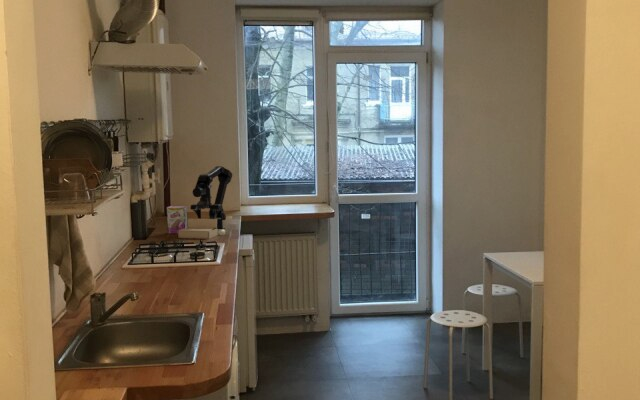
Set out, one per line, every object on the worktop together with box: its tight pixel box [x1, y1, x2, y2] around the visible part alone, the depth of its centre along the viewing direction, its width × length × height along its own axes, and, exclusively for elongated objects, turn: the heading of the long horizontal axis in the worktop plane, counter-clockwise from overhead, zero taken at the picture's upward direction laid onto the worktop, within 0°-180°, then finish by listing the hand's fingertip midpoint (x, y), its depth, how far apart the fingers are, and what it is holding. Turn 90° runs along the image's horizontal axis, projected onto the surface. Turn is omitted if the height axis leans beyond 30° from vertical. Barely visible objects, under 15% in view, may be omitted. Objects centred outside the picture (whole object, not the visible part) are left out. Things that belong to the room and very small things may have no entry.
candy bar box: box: [166, 205, 188, 235], centre depth 408 cm, size 11×5×16 cm, turn 83°
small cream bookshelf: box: [177, 227, 219, 240], centre depth 395 cm, size 12×20×5 cm, turn 74°
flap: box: [187, 218, 217, 229], centre depth 400 cm, size 5×19×1 cm
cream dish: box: [218, 229, 226, 236], centre depth 402 cm, size 7×7×2 cm
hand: (206, 221), depth 406 cm, fingers open, 9 cm apart
